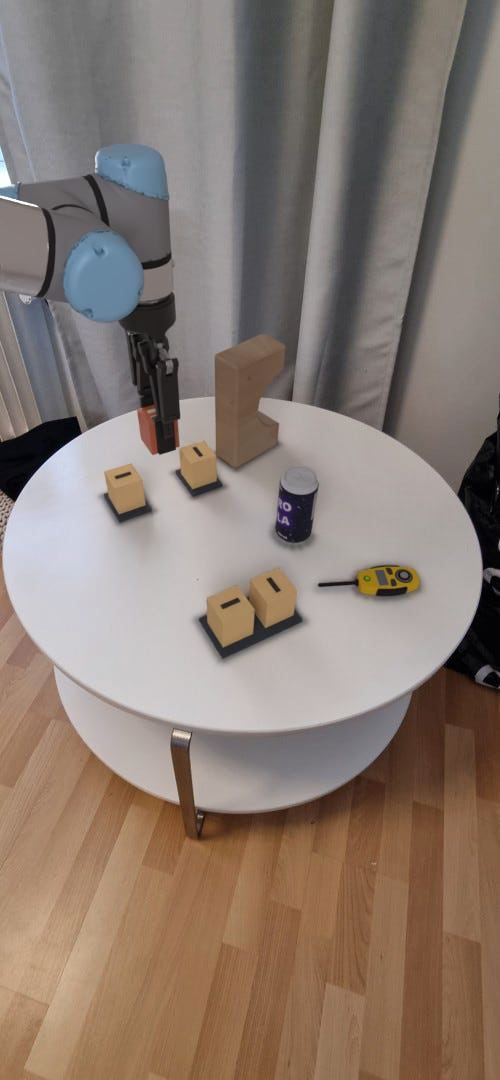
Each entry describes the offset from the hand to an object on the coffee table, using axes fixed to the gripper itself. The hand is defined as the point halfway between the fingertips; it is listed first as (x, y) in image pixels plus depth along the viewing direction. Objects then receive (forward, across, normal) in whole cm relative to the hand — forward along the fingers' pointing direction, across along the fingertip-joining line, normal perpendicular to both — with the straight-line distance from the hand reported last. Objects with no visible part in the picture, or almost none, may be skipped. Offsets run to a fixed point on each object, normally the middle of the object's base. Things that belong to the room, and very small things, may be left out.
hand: (159, 441), depth 91 cm
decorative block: (+11, +4, -18) cm, 21 cm away
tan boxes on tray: (+11, -30, 0) cm, 32 cm away
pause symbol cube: (0, 0, 0) cm, 0 cm away
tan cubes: (+11, 0, 0) cm, 11 cm away
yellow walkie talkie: (+11, -32, -18) cm, 39 cm away
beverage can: (+11, -18, -14) cm, 25 cm away
